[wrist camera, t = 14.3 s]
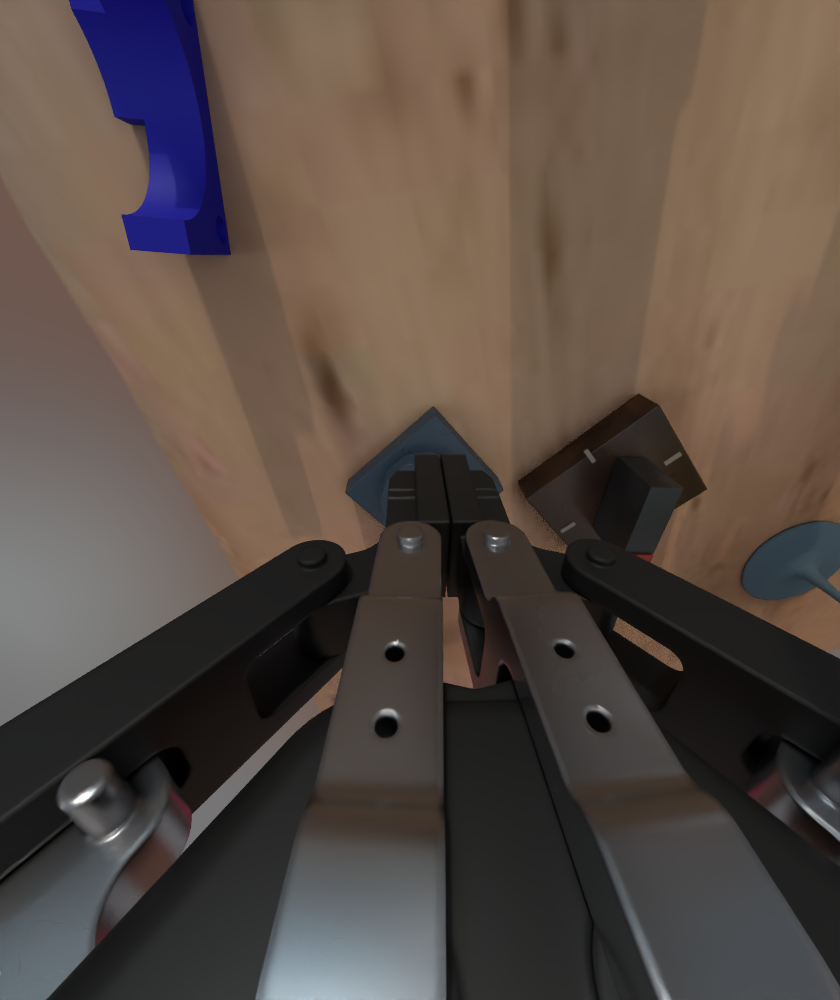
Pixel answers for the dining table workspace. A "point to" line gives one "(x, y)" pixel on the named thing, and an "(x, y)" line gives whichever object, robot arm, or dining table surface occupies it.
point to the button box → (409, 461)
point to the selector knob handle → (636, 506)
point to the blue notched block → (162, 118)
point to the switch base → (606, 467)
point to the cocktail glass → (795, 562)
